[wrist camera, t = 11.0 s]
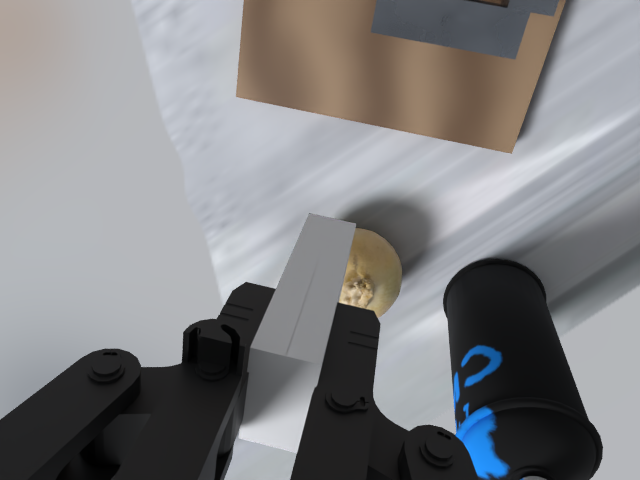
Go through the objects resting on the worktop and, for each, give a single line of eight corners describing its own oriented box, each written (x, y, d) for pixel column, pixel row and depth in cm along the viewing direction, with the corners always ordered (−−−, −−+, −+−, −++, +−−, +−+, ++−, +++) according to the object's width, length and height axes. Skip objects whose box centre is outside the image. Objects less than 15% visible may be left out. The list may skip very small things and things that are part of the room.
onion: (392, 306, 47) (387, 359, 41) (303, 287, 47) (286, 337, 41) (412, 226, 43) (410, 271, 37) (315, 207, 43) (298, 248, 37)
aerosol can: (559, 267, 42) (656, 484, 25) (529, 347, 46) (595, 583, 29) (454, 250, 43) (478, 449, 26) (434, 330, 47) (442, 550, 30)
